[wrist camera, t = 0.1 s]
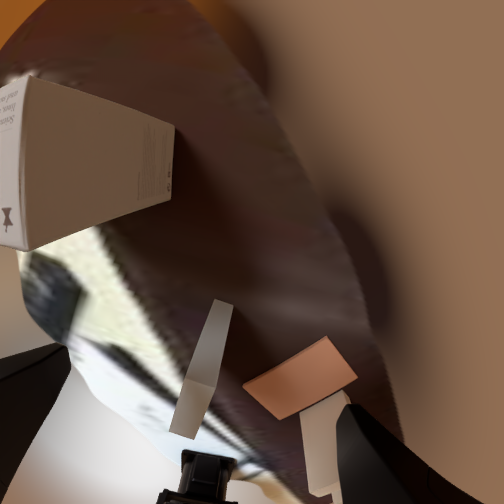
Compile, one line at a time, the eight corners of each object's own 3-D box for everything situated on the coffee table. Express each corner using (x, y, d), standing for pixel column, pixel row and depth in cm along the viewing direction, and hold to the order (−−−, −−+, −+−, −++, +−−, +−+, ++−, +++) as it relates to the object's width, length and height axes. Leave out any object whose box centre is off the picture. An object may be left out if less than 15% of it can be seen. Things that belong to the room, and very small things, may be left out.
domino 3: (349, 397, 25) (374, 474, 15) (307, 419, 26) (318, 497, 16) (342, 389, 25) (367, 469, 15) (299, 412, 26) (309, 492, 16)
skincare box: (177, 125, 19) (43, 57, 5) (172, 204, 21) (31, 258, 6) (85, 133, 20) (-61, 117, 5) (83, 203, 21) (-64, 243, 7)
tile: (279, 417, 26) (279, 420, 25) (243, 384, 25) (242, 387, 24) (356, 375, 24) (357, 377, 24) (326, 335, 23) (327, 337, 23)
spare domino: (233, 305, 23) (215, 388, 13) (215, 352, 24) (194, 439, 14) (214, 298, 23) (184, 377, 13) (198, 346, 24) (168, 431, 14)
